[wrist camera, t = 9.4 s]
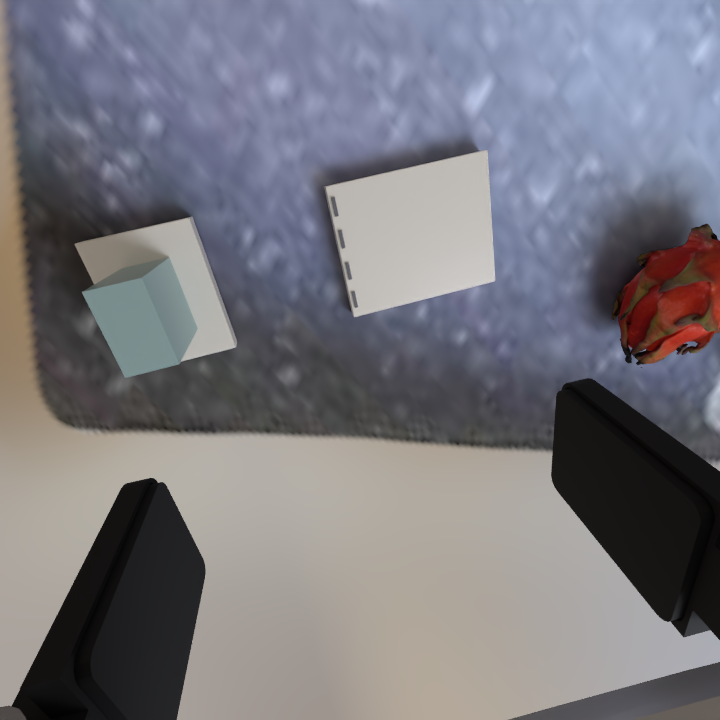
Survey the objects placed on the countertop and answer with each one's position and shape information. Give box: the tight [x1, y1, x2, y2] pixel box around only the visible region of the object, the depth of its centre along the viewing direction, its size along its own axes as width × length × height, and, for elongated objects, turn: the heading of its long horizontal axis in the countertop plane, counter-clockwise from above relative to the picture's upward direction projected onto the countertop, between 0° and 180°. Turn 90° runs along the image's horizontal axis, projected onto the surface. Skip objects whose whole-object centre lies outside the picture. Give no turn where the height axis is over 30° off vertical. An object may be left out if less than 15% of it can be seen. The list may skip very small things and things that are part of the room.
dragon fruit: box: [612, 224, 720, 368], centre depth 32 cm, size 8×8×12 cm
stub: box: [75, 217, 237, 378], centre depth 25 cm, size 9×7×7 cm
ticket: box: [324, 150, 495, 317], centre depth 29 cm, size 9×11×1 cm
